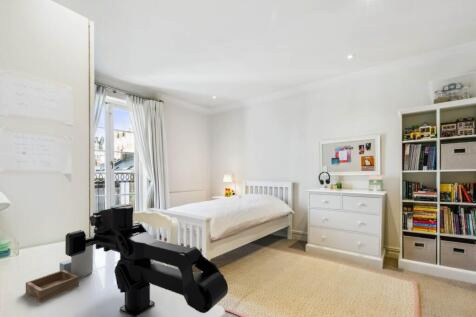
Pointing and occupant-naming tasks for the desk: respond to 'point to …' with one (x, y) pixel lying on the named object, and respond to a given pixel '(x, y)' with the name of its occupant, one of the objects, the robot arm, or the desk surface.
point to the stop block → (66, 265)
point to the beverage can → (82, 262)
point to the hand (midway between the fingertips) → (86, 232)
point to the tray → (51, 285)
